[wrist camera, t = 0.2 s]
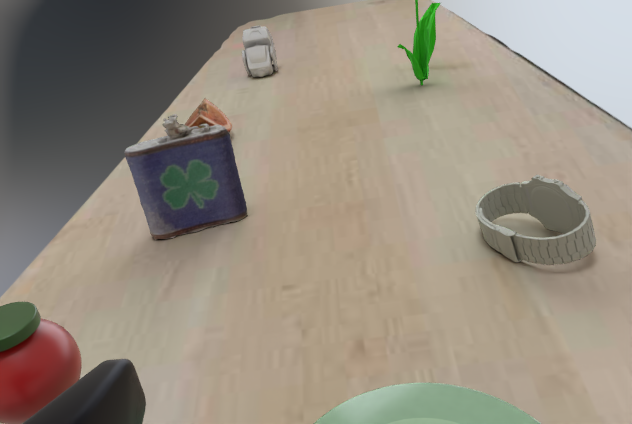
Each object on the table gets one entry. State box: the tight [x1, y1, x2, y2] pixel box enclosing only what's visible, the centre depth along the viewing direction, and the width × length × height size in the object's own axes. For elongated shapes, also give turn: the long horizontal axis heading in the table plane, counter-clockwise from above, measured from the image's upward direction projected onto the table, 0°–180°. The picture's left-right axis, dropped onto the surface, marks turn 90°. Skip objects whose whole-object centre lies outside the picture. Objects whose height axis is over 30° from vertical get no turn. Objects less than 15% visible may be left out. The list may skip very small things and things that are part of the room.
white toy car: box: [242, 26, 278, 77], centre depth 104 cm, size 6×7×10 cm
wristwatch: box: [476, 175, 596, 265], centre depth 40 cm, size 9×6×5 cm
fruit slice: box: [185, 99, 232, 132], centre depth 73 cm, size 8×7×5 cm
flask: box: [125, 114, 248, 240], centre depth 50 cm, size 9×3×11 cm, turn 105°
